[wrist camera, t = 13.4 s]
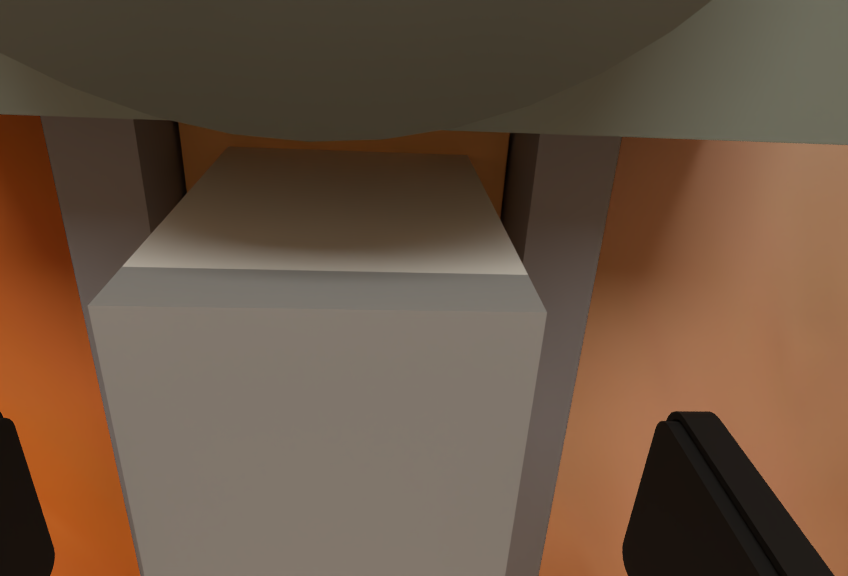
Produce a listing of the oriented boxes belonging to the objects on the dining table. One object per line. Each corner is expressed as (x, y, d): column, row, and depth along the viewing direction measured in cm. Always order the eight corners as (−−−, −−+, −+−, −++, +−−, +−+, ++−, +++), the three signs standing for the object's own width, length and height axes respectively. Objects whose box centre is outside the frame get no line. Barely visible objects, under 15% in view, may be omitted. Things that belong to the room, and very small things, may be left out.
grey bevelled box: (467, 155, 13) (546, 312, 7) (442, 447, 17) (481, 725, 11) (228, 146, 13) (87, 305, 7) (254, 448, 16) (178, 737, 10)
